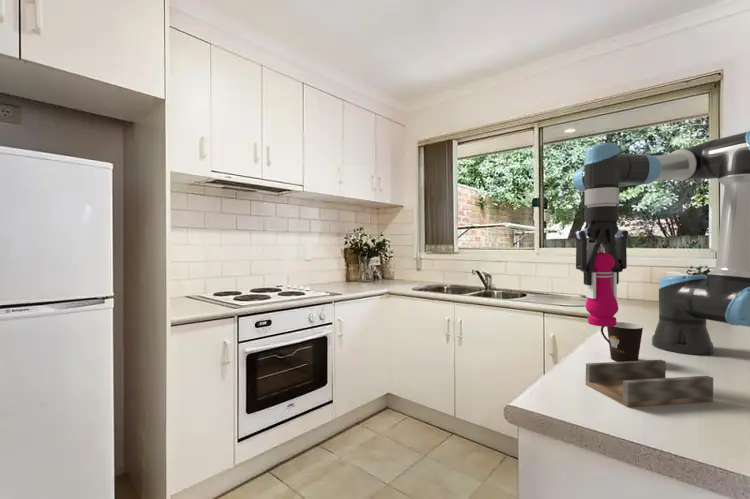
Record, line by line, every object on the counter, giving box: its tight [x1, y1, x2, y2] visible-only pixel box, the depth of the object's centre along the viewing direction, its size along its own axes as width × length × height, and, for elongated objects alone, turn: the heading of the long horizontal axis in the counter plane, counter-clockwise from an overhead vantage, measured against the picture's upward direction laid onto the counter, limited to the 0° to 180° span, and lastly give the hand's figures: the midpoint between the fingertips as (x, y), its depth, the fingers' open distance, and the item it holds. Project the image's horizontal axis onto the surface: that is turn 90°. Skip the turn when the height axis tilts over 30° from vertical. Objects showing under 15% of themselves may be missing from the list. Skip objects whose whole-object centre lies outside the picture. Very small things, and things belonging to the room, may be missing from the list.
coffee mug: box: [600, 321, 644, 362], centre depth 109 cm, size 12×9×10 cm
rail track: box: [585, 359, 714, 408], centre depth 85 cm, size 20×12×5 cm, turn 98°
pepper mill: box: [585, 245, 619, 328], centre depth 97 cm, size 7×7×20 cm
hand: (601, 297), depth 97 cm, fingers closed on pepper mill, 5 cm apart
